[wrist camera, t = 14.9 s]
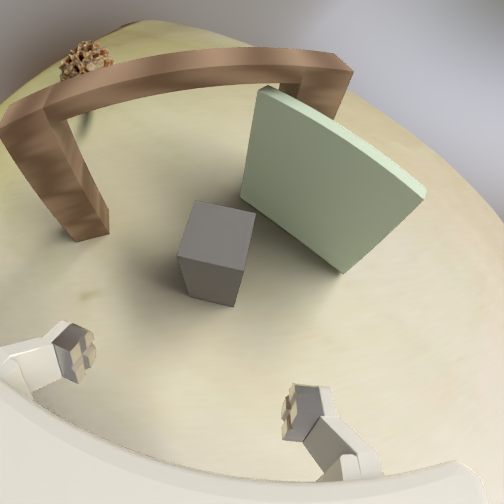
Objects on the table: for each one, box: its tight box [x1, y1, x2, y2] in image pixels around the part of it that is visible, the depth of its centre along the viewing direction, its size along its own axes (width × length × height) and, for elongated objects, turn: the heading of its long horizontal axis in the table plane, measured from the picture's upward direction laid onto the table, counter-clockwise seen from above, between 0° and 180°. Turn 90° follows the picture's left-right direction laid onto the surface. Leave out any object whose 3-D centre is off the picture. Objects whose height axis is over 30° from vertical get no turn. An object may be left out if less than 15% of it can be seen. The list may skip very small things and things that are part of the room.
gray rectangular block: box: [177, 200, 256, 307], centre depth 21 cm, size 4×4×9 cm
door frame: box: [0, 47, 354, 242], centre depth 21 cm, size 25×3×16 cm, turn 107°
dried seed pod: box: [59, 41, 114, 82], centre depth 30 cm, size 22×10×10 cm, turn 39°
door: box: [240, 85, 427, 274], centre depth 22 cm, size 13×3×13 cm, turn 52°
